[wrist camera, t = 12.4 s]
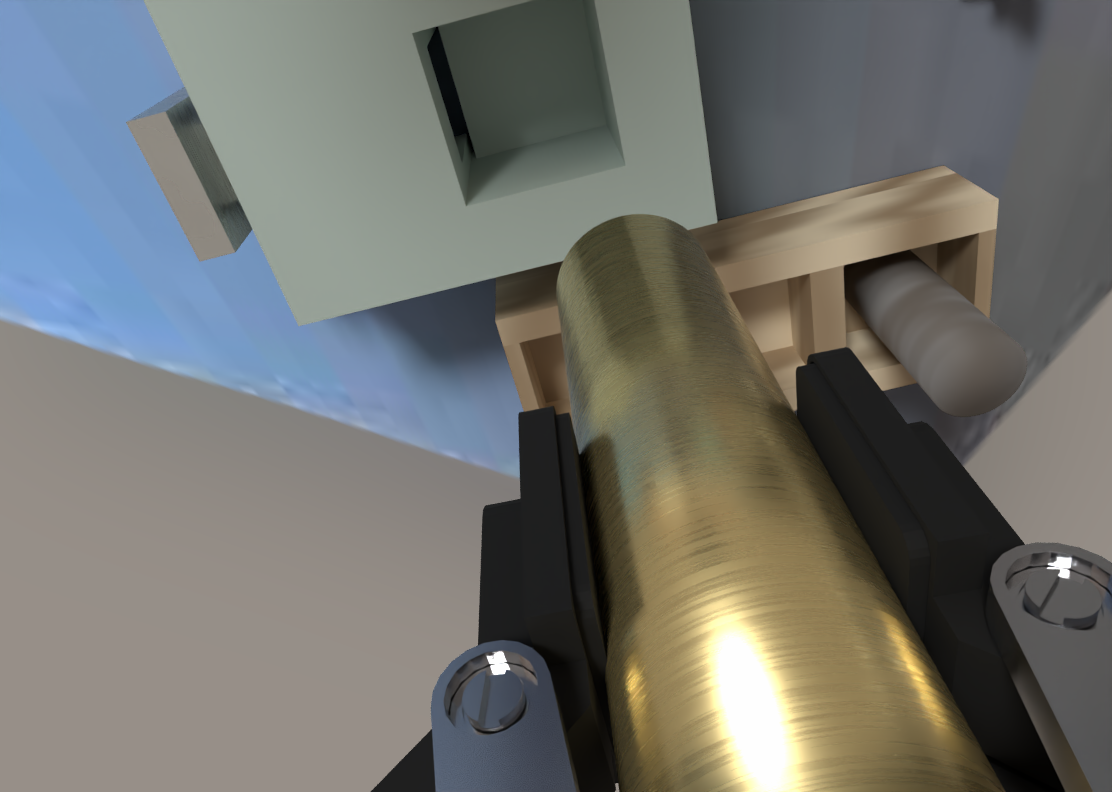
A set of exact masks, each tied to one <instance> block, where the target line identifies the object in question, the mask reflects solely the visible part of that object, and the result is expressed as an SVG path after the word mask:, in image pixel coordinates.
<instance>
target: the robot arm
mask: <svg viewBox="0 0 1112 792" xmlns="http://www.w3.org/2000/svg"><path fill="white" fill-rule="evenodd" d="M796 397H797V417H798V419H799V421H800V423H801V425H802V426H803V428H804V430H805V432H806V434H807V435H808V437H809V439H810V441H811V443H812V444H813V446H814V448H815V450H816V452H817V453H818V455H819V457H820V459H821V461H822V462H823V464H824V466H825V468H826V470H827V471H828V473H829V475H830V477H831V479H832V480H833V482H834V484H835V486H836V488H837V489H838V491H839V493H840V495H841V497H842V498H843V500H844V502H845V504H846V506H847V507H848V509H849V511H850V513H851V515H852V516H853V518H854V520H855V522H856V524H857V525H858V527H859V529H860V531H861V533H862V534H863V536H864V538H865V540H866V542H867V543H868V545H869V547H870V549H871V551H872V552H873V554H874V556H875V558H876V560H877V561H878V563H879V565H880V567H881V569H882V570H883V572H884V574H885V576H886V578H887V579H888V581H889V583H890V585H891V587H892V588H893V590H894V592H895V594H896V596H897V597H898V599H899V601H900V603H901V605H902V606H903V608H904V610H905V612H906V614H907V615H908V617H909V619H910V621H911V623H912V624H913V626H914V628H915V630H916V632H917V633H918V635H919V637H920V639H921V641H922V642H923V644H924V646H925V648H926V650H927V651H928V653H929V655H930V657H931V659H932V660H933V662H934V664H935V666H936V668H937V669H938V671H939V673H940V675H941V677H942V678H943V680H944V682H945V684H946V686H947V687H948V689H949V691H950V693H951V695H952V696H953V698H954V700H955V702H956V704H957V705H958V707H959V709H960V711H961V713H962V714H963V716H964V718H965V720H966V722H967V723H968V725H969V727H970V729H971V731H972V732H973V734H974V736H975V738H976V740H977V741H978V743H979V745H980V747H981V749H982V750H983V752H984V754H985V756H986V758H987V759H988V761H989V763H990V765H991V767H992V768H993V770H994V772H995V774H996V776H997V777H998V779H999V781H1000V783H1001V785H1002V786H1003V788H1004V790H1005V792H1112V563H1111V562H1110V561H1108V560H1107V559H1105V558H1103V557H1102V556H1099V555H1097V554H1094V553H1092V552H1089V551H1087V550H1084V549H1082V548H1078V547H1074V546H1069V545H1064V544H1059V543H1031V544H1026V545H1025V544H1024V542H1023V541H1022V540H1021V539H1020V537H1019V536H1018V535H1017V534H1016V532H1015V531H1014V530H1013V529H1012V528H1011V526H1010V525H1009V524H1008V522H1007V521H1006V520H1005V519H1004V517H1003V516H1002V515H1001V514H1000V512H999V511H998V510H997V509H996V508H995V506H994V505H993V503H992V502H991V501H990V500H989V498H988V497H987V496H986V495H985V493H984V492H983V491H982V490H981V489H980V488H979V486H978V485H977V484H976V482H975V481H974V480H973V478H972V477H971V476H970V475H969V473H968V472H967V471H966V470H965V468H964V467H963V466H962V465H961V463H960V462H959V461H958V460H957V458H956V457H955V456H954V454H953V453H952V452H951V451H950V449H949V448H948V447H947V446H946V444H945V443H944V442H943V441H942V439H941V438H940V437H939V436H938V434H937V433H936V432H935V431H934V429H933V428H931V427H930V426H929V425H928V424H927V423H924V422H922V421H921V422H916V423H910V424H907V423H906V422H905V420H904V419H903V418H902V416H901V415H900V414H899V412H898V411H897V410H896V408H895V407H894V406H893V404H892V403H891V402H890V400H889V399H888V398H887V396H886V395H885V394H884V392H883V391H882V390H881V388H880V387H879V386H878V384H877V383H876V382H875V381H874V379H873V378H872V377H871V375H870V374H869V373H868V371H867V370H866V369H865V367H864V366H863V365H862V363H861V362H860V361H859V359H858V358H857V357H856V355H855V354H854V353H853V351H852V350H851V349H850V348H848V347H844V348H839V349H834V350H829V351H824V352H819V353H814V354H810V355H809V356H808V359H807V365H803V366H798V367H797V368H796ZM518 419H519V456H520V492H521V499H517V500H513V501H507V502H502V503H497V504H491V505H486V506H485V507H484V509H483V519H482V547H481V548H482V549H481V576H480V605H479V635H478V646H476V647H474V648H471V649H469V650H467V651H465V652H464V653H463V654H461V655H460V656H459V657H457V658H456V659H455V660H453V661H452V662H451V663H450V664H449V666H448V667H447V668H446V669H445V670H444V672H443V673H442V674H441V675H440V677H439V679H438V681H437V684H436V686H435V688H434V690H433V695H432V703H431V720H432V729H431V730H430V732H429V733H428V734H427V735H426V736H425V737H424V738H423V739H422V740H421V741H420V742H419V743H418V744H417V745H416V746H415V747H414V748H413V749H412V750H411V751H410V752H409V753H408V754H407V755H406V756H405V757H404V758H403V759H402V760H401V761H400V762H399V763H398V764H397V765H396V766H395V768H393V769H392V770H391V772H389V773H388V775H387V776H386V777H385V778H384V779H383V780H382V781H381V782H380V783H379V784H378V785H377V786H376V787H375V788H374V789H373V790H372V791H371V792H615V790H616V787H615V783H618V776H617V768H616V760H615V753H614V745H613V737H612V729H611V721H610V713H609V705H608V698H607V690H606V682H605V673H606V664H607V657H606V649H605V642H604V634H603V627H602V619H601V612H600V604H599V597H598V589H597V582H596V574H595V567H594V559H593V552H592V544H591V537H590V529H589V522H588V514H587V507H586V499H585V492H584V484H583V477H582V469H581V462H580V454H579V450H578V446H577V442H576V437H575V433H574V429H573V425H572V421H571V417H570V413H569V412H568V413H563V414H558V415H557V414H556V411H555V408H554V406H550V407H545V408H540V409H535V410H530V411H525V412H520V413H519V417H518Z"/></svg>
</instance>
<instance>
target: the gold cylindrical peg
mask: <svg viewBox="0 0 1112 792" xmlns="http://www.w3.org/2000/svg"><path fill="white" fill-rule="evenodd" d="M556 297H557V304H558V312H559V320H560V328H561V336H562V344H563V352H564V359H565V367H566V375H567V383H568V391H569V399H570V407H571V415H572V422H573V429H574V433H575V437H576V442H577V446H578V450H579V454H580V462H581V469H582V477H583V484H584V492H585V499H586V507H587V514H588V522H589V529H590V537H591V544H592V552H593V559H594V567H595V574H596V582H597V589H598V597H599V604H600V612H601V619H602V627H603V634H604V642H605V649H606V657H607V664H606V673H605V682H606V690H607V698H608V705H609V713H610V721H611V729H612V737H613V745H614V753H615V760H616V768H617V776H618V784H619V792H1005V790H1004V788H1003V786H1002V785H1001V783H1000V781H999V779H998V777H997V776H996V774H995V772H994V770H993V768H992V767H991V765H990V763H989V761H988V759H987V758H986V756H985V754H984V752H983V750H982V749H981V747H980V745H979V743H978V741H977V740H976V738H975V736H974V734H973V732H972V731H971V729H970V727H969V725H968V723H967V722H966V720H965V718H964V716H963V714H962V713H961V711H960V709H959V707H958V705H957V704H956V702H955V700H954V698H953V696H952V695H951V693H950V691H949V689H948V687H947V686H946V684H945V682H944V680H943V678H942V677H941V675H940V673H939V671H938V669H937V668H936V666H935V664H934V662H933V660H932V659H931V657H930V655H929V653H928V651H927V650H926V648H925V646H924V644H923V642H922V641H921V639H920V637H919V635H918V633H917V632H916V630H915V628H914V626H913V624H912V623H911V621H910V619H909V617H908V615H907V614H906V612H905V610H904V608H903V606H902V605H901V603H900V601H899V599H898V597H897V596H896V594H895V592H894V590H893V588H892V587H891V585H890V583H889V581H888V579H887V578H886V576H885V574H884V572H883V570H882V569H881V567H880V565H879V563H878V561H877V560H876V558H875V556H874V554H873V552H872V551H871V549H870V547H869V545H868V543H867V542H866V540H865V538H864V536H863V534H862V533H861V531H860V529H859V527H858V525H857V524H856V522H855V520H854V518H853V516H852V515H851V513H850V511H849V509H848V507H847V506H846V504H845V502H844V500H843V498H842V497H841V495H840V493H839V491H838V489H837V488H836V486H835V484H834V482H833V480H832V479H831V477H830V475H829V473H828V471H827V470H826V468H825V466H824V464H823V462H822V461H821V459H820V457H819V455H818V453H817V452H816V450H815V448H814V446H813V444H812V443H811V441H810V439H809V437H808V435H807V434H806V432H805V430H804V428H803V426H802V425H801V423H800V421H799V419H798V417H797V416H796V414H795V412H794V410H793V408H792V407H791V405H790V403H789V401H788V399H787V398H786V396H785V394H784V392H783V390H782V389H781V387H780V385H779V383H778V381H777V380H776V378H775V376H774V374H773V372H772V371H771V369H770V367H769V365H768V363H767V362H766V360H765V358H764V356H763V354H762V353H761V351H760V349H759V347H758V345H757V344H756V342H755V340H754V338H753V337H752V335H751V333H750V331H749V329H748V328H747V326H746V324H745V322H744V320H743V319H742V317H741V315H740V313H739V311H738V310H737V308H736V306H735V304H734V302H733V301H732V299H731V297H730V295H729V293H728V292H727V290H726V288H725V286H724V284H723V283H722V281H721V279H720V277H719V275H718V274H717V272H716V270H715V268H714V266H713V265H712V263H711V261H710V259H709V257H708V256H707V254H706V252H705V250H704V248H703V247H702V245H701V244H700V242H699V241H698V240H697V238H696V237H695V236H694V235H693V234H692V233H691V232H690V231H688V230H687V229H686V228H684V227H683V226H681V225H680V224H678V223H676V222H674V221H672V220H669V219H667V218H664V217H660V216H656V215H649V214H631V215H624V216H620V217H616V218H613V219H610V220H608V221H605V222H603V223H601V224H599V225H597V226H595V227H594V228H592V229H591V230H589V231H588V232H587V233H585V234H584V235H583V236H582V237H581V238H580V239H579V240H578V241H577V242H576V243H575V244H574V245H573V247H572V248H571V249H570V250H569V252H568V254H567V255H566V257H565V259H564V261H563V263H562V265H561V268H560V271H559V275H558V279H557V286H556Z"/></svg>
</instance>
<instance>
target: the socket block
mask: <svg viewBox="0 0 1112 792" xmlns="http://www.w3.org/2000/svg"><path fill="white" fill-rule="evenodd" d="M144 2H145V4H146V6H147V9H148V11H149V13H150V15H151V17H152V19H153V21H154V23H155V25H156V27H157V30H158V32H159V34H160V36H161V38H162V40H163V42H164V44H165V46H166V48H167V51H168V53H169V55H170V57H171V59H172V61H173V63H174V65H175V67H176V69H177V72H178V74H179V76H180V78H181V80H182V82H183V84H184V86H185V88H186V90H187V93H188V95H189V97H190V99H191V101H192V103H193V105H194V107H195V109H196V111H197V114H198V116H199V118H200V120H201V122H202V124H203V126H204V128H205V130H206V132H207V135H208V137H209V139H210V141H211V143H212V145H213V147H214V149H215V151H216V153H217V155H218V158H219V160H220V162H221V164H222V166H223V168H224V170H225V172H226V174H227V176H228V179H229V181H230V183H231V185H232V187H233V189H234V191H235V193H236V195H237V197H238V200H239V202H240V204H241V206H242V208H243V210H244V212H245V214H246V216H247V218H248V221H249V223H250V225H251V227H252V229H253V231H254V233H255V235H256V237H257V239H258V242H259V244H260V246H261V248H262V250H263V252H264V254H265V256H266V258H267V260H268V263H269V265H270V267H271V269H272V271H273V273H274V275H275V277H276V279H277V281H278V284H279V286H280V288H281V290H282V292H283V294H284V296H285V298H286V300H287V302H288V305H289V307H290V309H291V311H292V313H293V315H294V317H295V319H296V321H297V323H298V326H301V325H305V324H309V323H313V322H317V321H321V320H325V319H329V318H333V317H337V316H341V315H345V314H349V313H353V312H358V311H362V310H366V309H370V308H374V307H378V306H382V305H386V304H390V303H394V302H398V301H402V300H406V299H410V298H414V297H418V296H422V295H427V294H431V293H435V292H439V291H443V290H447V289H451V288H455V287H459V286H463V285H467V284H471V283H475V282H479V281H483V280H487V279H491V278H496V277H500V276H504V275H508V274H512V273H516V272H520V271H524V270H528V269H532V268H536V267H540V266H544V265H548V264H552V263H556V262H560V261H564V259H565V257H566V255H567V254H568V252H569V250H570V249H571V248H572V247H573V245H574V244H575V243H576V242H577V241H578V240H579V239H580V238H581V237H582V236H583V235H584V234H585V233H587V232H588V231H589V230H591V229H592V228H594V227H595V226H597V225H599V224H601V223H603V222H605V221H608V220H610V219H613V218H616V217H620V216H624V215H631V214H649V215H656V216H660V217H664V218H667V219H669V220H672V221H674V222H676V223H678V224H680V225H681V226H683V227H684V228H686V229H687V230H690V229H694V228H698V227H703V226H707V225H711V224H715V223H717V215H716V207H715V199H714V192H713V184H712V176H711V168H710V160H709V153H708V145H707V137H706V129H705V122H704V114H703V106H702V98H701V91H700V83H699V75H698V67H697V59H696V52H695V44H694V36H693V28H692V21H691V13H690V5H689V0H144ZM436 26H438V29H439V32H440V35H441V39H442V42H443V46H444V49H445V52H446V56H447V59H448V63H449V66H450V69H451V73H452V76H453V80H454V83H455V86H456V90H457V93H458V97H459V100H460V104H461V107H462V110H463V114H464V117H465V121H466V124H467V127H468V131H469V134H470V138H471V141H472V144H473V148H474V152H472V150H471V147H470V143H469V140H468V136H467V133H466V134H462V135H458V136H454V135H453V131H452V128H451V125H450V122H449V118H448V115H447V112H446V108H445V105H444V102H443V99H442V95H441V92H440V89H439V85H438V82H437V79H436V76H435V72H434V69H433V66H432V63H431V59H430V56H429V53H428V49H427V45H428V43H429V41H430V39H431V37H432V35H433V33H434V31H435V29H436V28H435V27H436Z"/></svg>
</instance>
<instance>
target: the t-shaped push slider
mask: <svg viewBox="0 0 1112 792" xmlns="http://www.w3.org/2000/svg"><path fill="white" fill-rule="evenodd" d="M126 123H127V125H128V127H129V129H130V131H131V132H132V134H133V136H134V138H135V140H136V142H137V144H138V146H139V148H140V150H141V151H142V153H143V155H144V157H145V159H146V161H147V163H148V165H149V167H150V168H151V170H152V172H153V174H154V176H155V178H156V180H157V182H158V184H159V185H160V187H161V189H162V191H163V193H164V195H165V197H166V199H167V201H168V202H169V204H170V206H171V208H172V210H173V212H174V214H175V216H176V218H177V219H178V221H179V223H180V225H181V227H182V229H183V231H184V233H185V235H186V237H187V238H188V240H189V242H190V244H191V246H192V248H193V250H194V252H195V254H196V255H197V257H198V259H199V261H203V260H207V259H211V258H215V257H219V256H223V255H227V254H231V253H235V252H236V251H237V249H238V248H239V247H240V245H241V244H242V243H243V241H244V240H245V239H246V237H247V236H248V235H249V233H250V232H251V231H252V227H251V225H250V223H249V221H248V218H247V216H246V214H245V212H244V210H243V208H242V206H241V204H240V202H239V200H238V197H237V195H236V193H235V191H234V189H233V187H232V185H231V183H230V181H229V179H228V176H227V174H226V172H225V170H224V168H223V166H222V164H221V162H220V160H219V158H218V155H217V153H216V151H215V149H214V147H213V145H212V143H211V141H210V139H209V137H208V135H207V132H206V130H205V128H204V126H203V124H202V122H201V120H200V118H199V116H198V114H197V111H196V109H195V107H194V105H193V103H192V101H191V99H190V97H189V95H188V93H187V90H186V88H185V87H183V88H182V89H180V90H178V91H177V92H175V93H173V94H172V95H170V96H168V97H167V98H165V99H164V100H162V101H160V102H159V103H157V104H155V105H154V106H152V107H150V108H149V109H147V110H145V111H144V112H142V113H141V114H139V115H137V116H136V117H134V118H132V119H131V120H129V121H127V122H126Z"/></svg>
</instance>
